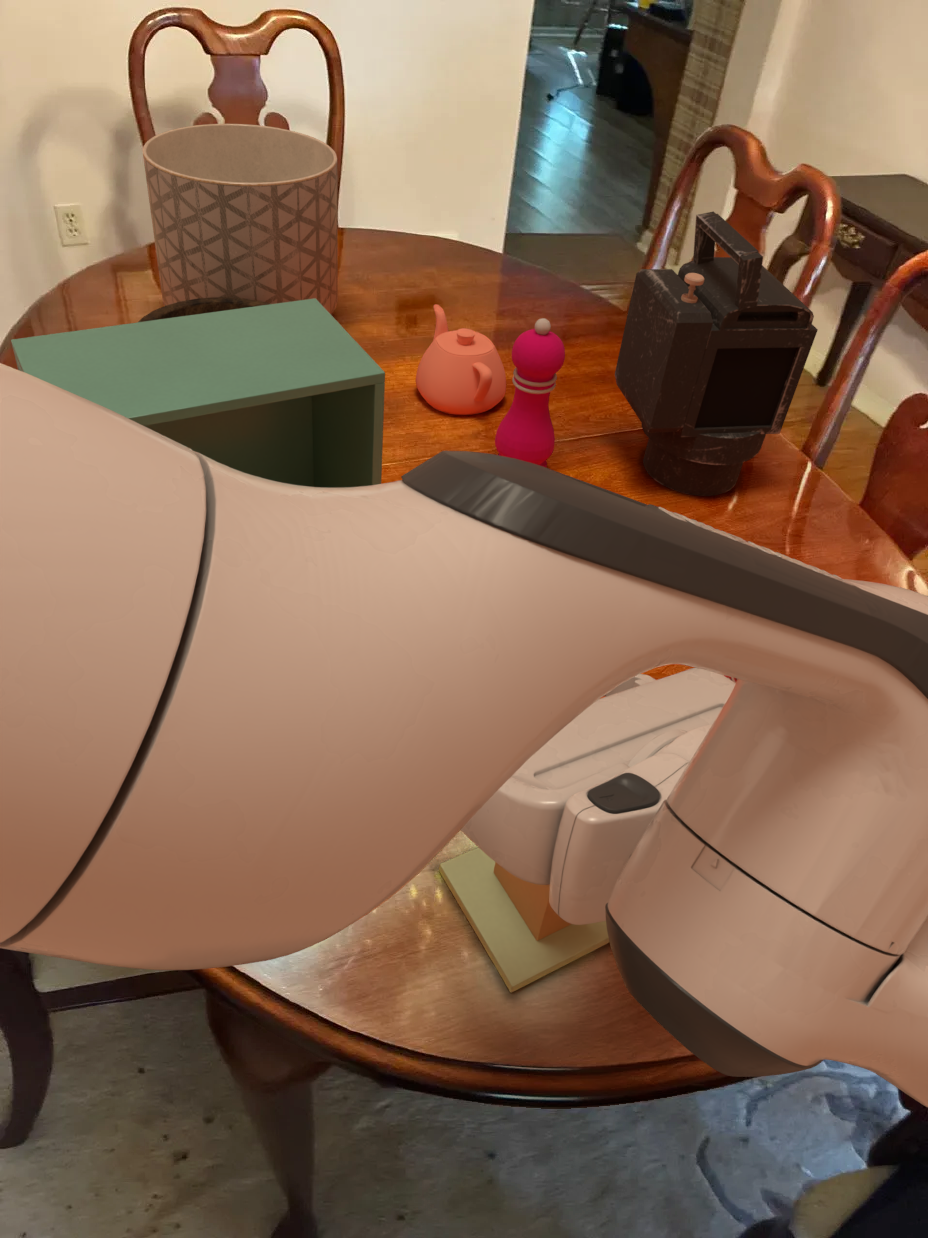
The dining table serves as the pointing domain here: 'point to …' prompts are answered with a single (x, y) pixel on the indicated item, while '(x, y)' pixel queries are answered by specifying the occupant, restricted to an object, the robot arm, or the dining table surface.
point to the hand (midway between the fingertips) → (529, 688)
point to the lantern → (711, 360)
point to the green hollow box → (234, 388)
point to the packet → (531, 903)
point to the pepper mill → (532, 396)
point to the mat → (512, 924)
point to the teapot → (460, 371)
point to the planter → (243, 214)
